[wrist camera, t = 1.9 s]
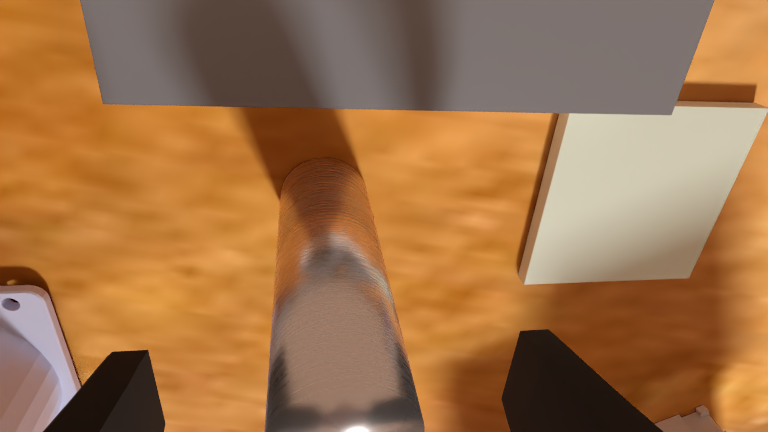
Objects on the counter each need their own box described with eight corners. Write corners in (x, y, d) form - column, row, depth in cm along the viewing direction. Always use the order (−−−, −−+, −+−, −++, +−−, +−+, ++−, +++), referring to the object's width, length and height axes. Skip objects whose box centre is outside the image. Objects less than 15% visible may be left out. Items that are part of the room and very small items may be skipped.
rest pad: (518, 275, 19) (523, 284, 19) (563, 97, 16) (571, 103, 15) (678, 269, 20) (689, 278, 20) (754, 102, 17) (768, 108, 16)
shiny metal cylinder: (282, 233, 17) (267, 496, 9) (278, 157, 15) (258, 392, 8) (364, 231, 17) (416, 481, 10) (368, 157, 16) (433, 380, 8)
